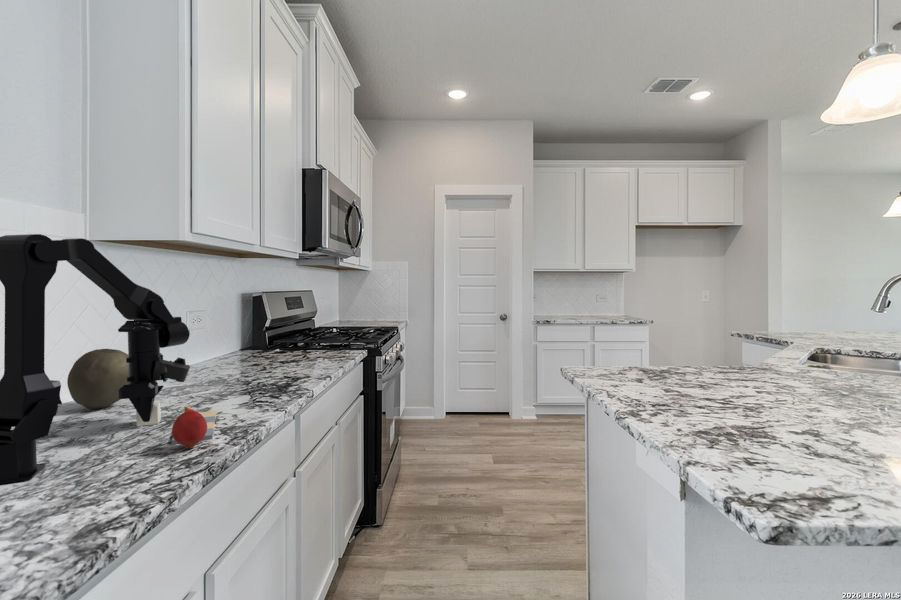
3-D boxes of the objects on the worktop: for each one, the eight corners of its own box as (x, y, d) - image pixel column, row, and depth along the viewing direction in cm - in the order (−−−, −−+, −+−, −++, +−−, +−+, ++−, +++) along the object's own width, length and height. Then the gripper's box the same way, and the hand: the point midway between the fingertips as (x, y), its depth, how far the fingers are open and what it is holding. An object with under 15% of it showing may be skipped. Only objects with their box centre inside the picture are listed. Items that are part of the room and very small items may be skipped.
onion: (200, 440, 90) (199, 401, 90) (212, 447, 87) (211, 405, 87) (167, 449, 86) (166, 407, 86) (179, 456, 82) (178, 412, 82)
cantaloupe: (82, 417, 108) (80, 354, 107) (60, 409, 115) (57, 350, 115) (147, 404, 119) (146, 347, 119) (123, 397, 127) (121, 344, 127)
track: (212, 438, 92) (212, 434, 92) (171, 444, 89) (171, 440, 89) (216, 413, 110) (216, 410, 110) (182, 417, 107) (182, 414, 107)
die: (157, 423, 102) (157, 405, 102) (136, 426, 100) (136, 408, 100) (160, 419, 106) (160, 401, 106) (140, 421, 104) (139, 403, 104)
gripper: (182, 353, 94) (184, 428, 95) (190, 343, 111) (192, 406, 112) (116, 358, 89) (119, 436, 90) (136, 346, 106) (138, 412, 107)
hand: (146, 421), depth 100 cm, fingers closed
